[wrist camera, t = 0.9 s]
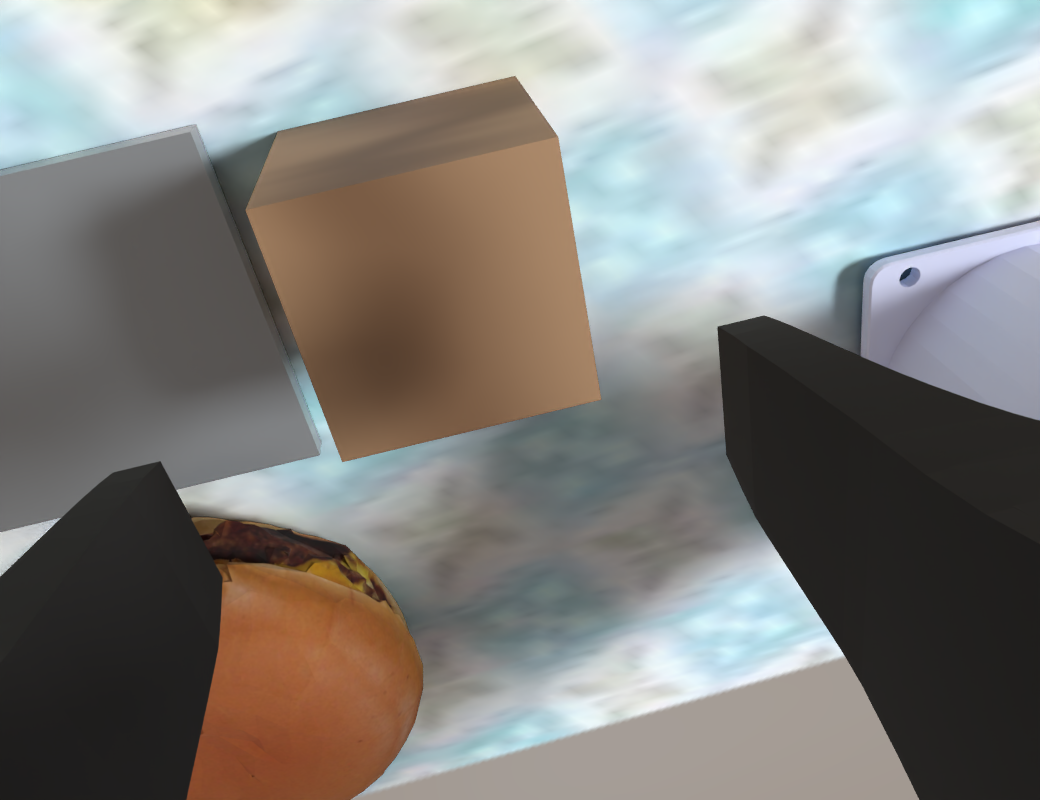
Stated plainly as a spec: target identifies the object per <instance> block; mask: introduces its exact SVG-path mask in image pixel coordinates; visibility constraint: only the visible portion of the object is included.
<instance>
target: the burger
mask: <svg viewBox="0 0 1040 800" xmlns="http://www.w3.org/2000/svg"><path fill="white" fill-rule="evenodd" d="M191 519H192V521H193V523H194V525H195V527H196V529H197V530H198V532H199V534H200V536H201V538H202V540H203V542H204V543H205V545H206V547H207V549H208V551H209V553H210V555H211V557H212V558H213V560H214V562H215V564H216V566H217V568H218V570H219V572H220V573H221V575H222V577H223V583H222V605H221V623H220V635H219V648H218V653H217V658H216V664H215V669H214V674H213V678H212V683H211V688H210V693H209V698H208V702H207V707H206V712H205V716H204V721H203V726H202V730H201V735H200V739H199V744H198V749H197V753H196V758H195V762H194V767H193V772H192V776H191V781H190V785H189V790H188V795H187V799H186V800H351V799H352V798H354V797H355V796H357V795H358V794H360V793H361V792H363V791H364V790H365V789H366V788H367V787H369V786H370V785H371V784H372V783H373V782H374V781H376V780H377V779H378V778H379V777H380V776H381V775H383V773H384V771H385V770H386V768H387V767H388V766H389V765H390V764H391V763H392V761H393V760H394V759H395V758H396V756H397V755H398V753H399V751H400V750H401V748H402V746H403V745H404V743H405V741H406V740H407V738H408V735H409V733H410V731H411V729H412V727H413V725H414V723H415V720H416V716H417V711H418V707H419V703H420V699H421V695H422V690H423V664H422V661H421V659H420V656H419V653H418V650H417V647H416V644H415V642H414V639H413V638H412V636H411V635H410V633H409V630H408V627H407V624H406V621H405V618H404V616H403V614H402V612H401V610H400V608H399V606H398V604H397V602H396V601H395V599H394V598H393V597H392V595H391V594H390V592H389V591H388V590H387V588H386V587H385V585H384V584H383V582H382V581H381V580H380V579H379V578H378V577H377V575H376V574H375V573H374V572H373V571H372V570H371V569H370V568H368V567H367V566H366V565H365V564H364V563H363V562H362V561H361V560H360V559H359V558H358V557H357V556H356V555H355V554H354V553H353V552H352V551H351V550H350V549H349V548H348V547H347V546H346V545H342V544H339V543H336V542H333V541H329V540H326V539H323V538H319V537H316V536H311V535H305V534H301V533H298V532H295V531H292V530H291V529H283V528H278V527H275V526H273V525H269V524H262V523H254V522H237V521H229V520H225V519H217V518H210V517H193V518H191Z"/></svg>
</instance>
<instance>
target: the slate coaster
mask: <svg viewBox="0 0 1040 800" xmlns="http://www.w3.org/2000/svg"><path fill="white" fill-rule="evenodd" d="M321 442H322V441H321V439H320V436H319V434H318V431H317V429H316V426H315V424H314V421H313V419H312V416H311V414H310V411H309V408H308V406H307V403H306V401H305V398H304V396H303V393H302V391H301V388H300V386H299V383H298V381H297V378H296V376H295V373H294V371H293V368H292V366H291V363H290V360H289V358H288V355H287V353H286V350H285V348H284V345H283V343H282V340H281V338H280V335H279V333H278V330H277V328H276V325H275V323H274V320H273V318H272V315H271V312H270V310H269V307H268V305H267V302H266V300H265V297H264V295H263V292H262V290H261V287H260V285H259V282H258V280H257V277H256V275H255V272H254V270H253V267H252V264H251V262H250V259H249V257H248V254H247V252H246V249H245V247H244V244H243V242H242V239H241V237H240V234H239V232H238V229H237V227H236V224H235V222H234V219H233V216H232V214H231V211H230V209H229V206H228V204H227V201H226V199H225V196H224V194H223V191H222V189H221V186H220V184H219V181H218V179H217V176H216V174H215V171H214V168H213V166H212V163H211V161H210V158H209V156H208V153H207V151H206V148H205V146H204V143H203V141H202V138H201V136H200V133H199V131H198V128H197V126H196V124H195V125H191V126H187V127H182V128H178V129H174V130H169V131H165V132H161V133H157V134H152V135H148V136H144V137H139V138H135V139H131V140H127V141H122V142H118V143H114V144H109V145H105V146H101V147H96V148H92V149H88V150H84V151H79V152H75V153H71V154H66V155H62V156H58V157H53V158H49V159H45V160H41V161H36V162H32V163H28V164H23V165H19V166H15V167H10V168H6V169H2V170H0V532H3V531H7V530H11V529H15V528H19V527H24V526H28V525H32V524H36V523H40V522H44V521H49V520H53V519H57V518H61V517H63V516H64V515H65V514H66V513H67V512H68V511H69V510H70V509H71V508H72V507H73V506H74V505H76V504H77V503H78V502H79V501H80V500H81V499H82V498H83V497H84V496H85V495H86V494H88V493H89V492H90V491H91V490H92V489H93V488H94V487H95V486H97V485H98V484H99V483H100V482H101V481H103V480H104V479H105V478H107V477H108V476H109V475H110V474H112V473H113V472H117V471H121V470H125V469H130V468H134V467H138V466H142V465H146V464H150V463H155V462H159V461H161V463H162V465H163V467H164V469H165V471H166V472H167V474H168V476H169V478H170V480H171V482H172V484H173V486H174V487H175V489H176V490H177V489H181V488H185V487H190V486H194V485H198V484H202V483H206V482H210V481H215V480H219V479H223V478H227V477H231V476H235V475H239V474H244V473H248V472H252V471H256V470H260V469H264V468H268V467H273V466H277V465H281V464H285V463H289V462H293V461H298V460H302V459H306V458H310V457H314V456H318V455H320V451H321Z"/></svg>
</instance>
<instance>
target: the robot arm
mask: <svg viewBox="0 0 1040 800" xmlns="http://www.w3.org/2000/svg"><path fill="white" fill-rule="evenodd" d="M910 267H912V270H911V273H910V274H909V276H908V277H907V278H906V279H903V280H901V281H899V279H900V276H901V274H902V273H903V272H904V271H905V270H906V269H908V268H910ZM718 341H719V355H720V369H721V384H722V398H723V412H724V427H725V441H726V455H727V457H728V459H729V461H730V464H731V466H732V468H733V470H734V472H735V475H736V477H737V479H738V481H739V484H740V486H741V488H742V490H743V492H744V494H745V496H746V498H747V501H748V503H749V505H750V507H751V509H752V511H753V513H754V515H755V517H756V519H757V520H758V522H759V523H760V525H761V527H762V528H763V530H764V531H765V533H766V535H767V536H768V538H769V539H770V541H771V542H772V544H773V545H774V547H775V549H776V550H777V552H778V553H779V555H780V556H781V558H782V560H783V561H784V563H785V564H786V566H787V567H788V569H789V570H790V572H791V573H792V575H793V577H794V578H795V580H796V581H797V583H798V584H799V586H800V587H801V589H802V590H803V592H804V593H805V595H806V597H807V598H808V600H809V601H810V603H811V604H812V606H813V607H814V609H815V610H816V612H817V613H818V615H819V616H820V618H821V620H822V621H823V623H824V624H825V626H826V627H827V629H828V630H829V632H830V633H831V635H832V636H833V638H834V640H835V641H836V643H837V644H838V646H839V647H840V649H841V650H842V652H843V654H844V655H845V657H846V659H847V660H848V662H849V664H850V665H851V667H852V669H853V670H854V672H855V674H856V676H857V677H858V679H859V681H860V682H861V684H862V686H863V688H864V690H865V692H866V694H867V696H868V697H869V700H870V702H871V704H872V706H873V708H874V710H875V711H876V713H877V715H878V717H879V719H880V721H881V723H882V725H883V727H884V729H885V731H886V733H887V735H888V737H889V739H890V741H891V742H892V745H893V747H894V749H895V751H896V753H897V754H898V757H899V759H900V761H901V763H902V765H903V767H904V769H905V771H906V773H907V775H908V777H909V779H910V781H911V783H912V785H913V788H914V790H915V792H916V794H917V796H918V798H919V800H1040V221H1036V222H1032V223H1028V224H1023V225H1019V226H1015V227H1011V228H1007V229H1003V230H998V231H994V232H990V233H986V234H982V235H978V236H973V237H969V238H965V239H961V240H957V241H952V242H948V243H944V244H940V245H936V246H932V247H927V248H923V249H919V250H915V251H911V252H907V253H902V254H898V255H894V256H890V257H886V258H882V259H880V260H878V261H876V262H875V263H873V264H872V265H871V266H870V267H869V268H868V270H867V272H866V273H865V276H864V280H863V303H862V330H861V356H859V355H856V354H854V353H852V352H850V351H847V350H845V349H843V348H840V347H838V346H836V345H834V344H831V343H829V342H827V341H825V340H822V339H820V338H818V337H816V336H813V335H811V334H809V333H807V332H804V331H802V330H800V329H797V328H795V327H793V326H790V325H788V324H786V323H783V322H781V321H778V320H775V319H773V318H770V317H767V316H760V317H756V318H752V319H748V320H744V321H740V322H736V323H731V324H727V325H723V326H719V327H718ZM222 583H223V577H222V575H221V573H220V572H219V570H218V568H217V566H216V564H215V562H214V560H213V558H212V557H211V555H210V553H209V551H208V549H207V547H206V545H205V543H204V542H203V540H202V538H201V536H200V534H199V532H198V530H197V529H196V527H195V525H194V523H193V521H192V519H191V517H190V515H189V514H188V512H187V510H186V508H185V506H184V504H183V502H182V500H181V499H180V497H179V495H178V493H177V491H176V489H175V487H174V486H173V484H172V482H171V480H170V478H169V476H168V474H167V472H166V471H165V469H164V467H163V465H162V463H161V461H159V462H155V463H150V464H146V465H142V466H138V467H134V468H130V469H125V470H121V471H117V472H113V473H112V474H110V475H109V476H108V477H107V478H105V479H104V480H103V481H101V482H100V483H99V484H98V485H97V486H95V487H94V488H93V489H92V490H91V491H90V492H89V493H88V494H86V495H85V496H84V497H83V498H82V499H81V500H80V501H79V502H78V503H77V504H76V505H74V506H73V507H72V508H71V509H70V510H69V511H68V512H67V513H66V514H65V515H64V516H63V517H62V518H61V519H60V520H59V521H58V522H57V523H56V524H55V525H54V526H53V527H52V528H50V529H49V530H48V531H47V532H46V533H45V534H44V535H43V536H42V537H41V538H40V539H39V540H38V541H37V542H36V543H35V544H34V545H33V546H32V547H31V548H30V549H29V550H28V551H27V552H26V553H25V554H24V555H23V556H22V557H20V558H19V559H18V560H17V561H16V562H15V563H14V564H13V565H12V566H11V567H10V568H9V569H8V570H7V571H6V572H5V573H4V574H3V575H2V576H1V577H0V800H186V799H187V795H188V790H189V785H190V781H191V776H192V772H193V767H194V762H195V758H196V753H197V749H198V744H199V739H200V735H201V730H202V726H203V721H204V716H205V712H206V707H207V702H208V698H209V693H210V688H211V683H212V678H213V674H214V669H215V664H216V658H217V653H218V648H219V635H220V623H221V605H222Z"/></svg>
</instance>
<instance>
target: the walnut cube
mask: <svg viewBox="0 0 1040 800" xmlns="http://www.w3.org/2000/svg"><path fill="white" fill-rule="evenodd" d="M245 211H246V213H247V216H248V218H249V221H250V224H251V226H252V229H253V231H254V234H255V237H256V239H257V242H258V244H259V247H260V250H261V252H262V255H263V257H264V260H265V263H266V265H267V268H268V270H269V273H270V276H271V278H272V281H273V283H274V286H275V289H276V291H277V294H278V296H279V299H280V302H281V304H282V307H283V309H284V312H285V315H286V317H287V320H288V322H289V325H290V328H291V330H292V333H293V335H294V338H295V340H296V343H297V346H298V348H299V351H300V353H301V356H302V359H303V361H304V364H305V366H306V369H307V372H308V374H309V377H310V379H311V382H312V385H313V387H314V390H315V392H316V395H317V398H318V400H319V403H320V405H321V408H322V411H323V413H324V416H325V418H326V421H327V424H328V426H329V429H330V431H331V434H332V437H333V439H334V442H335V444H336V447H337V450H338V452H339V455H340V457H341V460H342V462H345V461H349V460H353V459H357V458H361V457H365V456H370V455H374V454H378V453H382V452H386V451H390V450H395V449H399V448H403V447H407V446H411V445H415V444H419V443H424V442H428V441H432V440H436V439H440V438H444V437H449V436H453V435H457V434H461V433H465V432H469V431H473V430H478V429H482V428H486V427H490V426H494V425H498V424H502V423H507V422H511V421H515V420H519V419H523V418H527V417H532V416H536V415H540V414H544V413H548V412H552V411H556V410H561V409H565V408H569V407H573V406H577V405H581V404H586V403H590V402H594V401H598V400H601V395H600V389H599V383H598V377H597V370H596V364H595V358H594V352H593V346H592V340H591V334H590V328H589V322H588V316H587V310H586V304H585V298H584V291H583V285H582V279H581V273H580V267H579V261H578V255H577V249H576V243H575V237H574V231H573V225H572V219H571V213H570V206H569V200H568V194H567V188H566V182H565V176H564V170H563V164H562V158H561V152H560V146H559V140H558V136H557V135H556V133H555V132H554V130H553V129H552V127H551V126H550V125H549V123H548V122H547V120H546V119H545V118H544V116H543V115H542V113H541V112H540V110H539V109H538V108H537V106H536V105H535V103H534V102H533V101H532V99H531V98H530V96H529V95H528V93H527V92H526V91H525V89H524V88H523V86H522V85H521V84H520V82H519V81H518V79H517V78H516V76H513V77H509V78H505V79H501V80H496V81H492V82H488V83H483V84H479V85H475V86H471V87H466V88H462V89H458V90H453V91H449V92H445V93H440V94H436V95H432V96H428V97H423V98H419V99H415V100H410V101H406V102H402V103H398V104H393V105H389V106H385V107H380V108H376V109H372V110H368V111H363V112H359V113H355V114H350V115H346V116H342V117H338V118H333V119H329V120H325V121H320V122H316V123H312V124H308V125H303V126H299V127H295V128H290V129H286V130H282V131H278V132H277V135H276V137H275V140H274V142H273V144H272V147H271V149H270V152H269V154H268V156H267V159H266V161H265V164H264V166H263V169H262V171H261V173H260V176H259V178H258V181H257V183H256V185H255V188H254V190H253V193H252V195H251V197H250V200H249V202H248V205H247V207H246V210H245Z"/></svg>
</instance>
